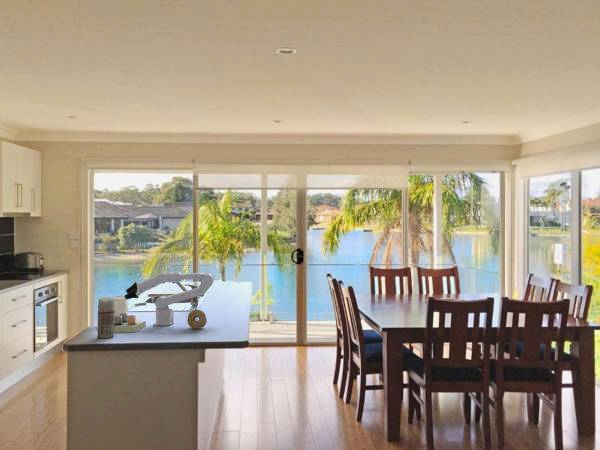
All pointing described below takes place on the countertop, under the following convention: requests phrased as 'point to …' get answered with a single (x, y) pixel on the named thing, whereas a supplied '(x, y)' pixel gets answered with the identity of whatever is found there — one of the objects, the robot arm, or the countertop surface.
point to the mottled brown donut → (200, 322)
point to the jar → (120, 305)
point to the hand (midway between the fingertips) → (125, 294)
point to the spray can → (105, 318)
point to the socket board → (130, 327)
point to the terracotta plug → (131, 320)
